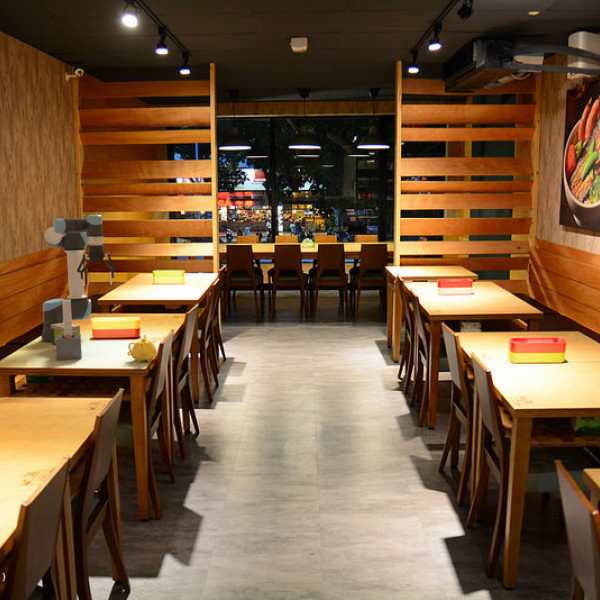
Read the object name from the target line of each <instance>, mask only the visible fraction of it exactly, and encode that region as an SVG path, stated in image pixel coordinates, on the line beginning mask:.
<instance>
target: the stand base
mask: <svg viewBox="0 0 600 600" xmlns="http://www.w3.org/2000/svg"><path fill="white" fill-rule="evenodd" d="M72 335H73V338H71V336H66V338H64V335H56V350H55V353H56V355H55V356H56V361H57V362H58V361H70V360H71V361H72V360H73V361H75V360H82V358H83V357H82V355H83V354H82V353H83V352H82V351H83V350H82V338H81V337H82V333H80V334H72Z"/></svg>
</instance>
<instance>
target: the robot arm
mask: <svg viewBox="0 0 600 600" xmlns="http://www.w3.org/2000/svg"><path fill="white" fill-rule="evenodd" d="M103 222H104V221H103V217H102V215H101V214H89V215H87V216H86V217H85V218H84V217H79V218H78V217H77V218H61V217H60V218H55V219H54V220H53V222H52V227H48V228H46V230H45V231H44V232H43V236H42V237H43V241H44V242H45V244H46V245H48V246H50V247H52V248H55V249H56V248H57V249H63V252H64V253H66V259H67V260H66V261H67V262H66V263H67V277H68V293H69V294H68V295H67V297H66V300H70V299H71V316H72V321H77V320H81V321H82V320H86V319H88V318H89V317H90V315H91V314H92V302H91V301H92V300H91V299H90V298H88V295H87V294H85V293H86V292H85V287H86V279H85V278H86V277H85V272H86V269H87V268H88V267H89V266H90V265H91V264H92V263H93V264H94V263H101V262H102V264H104V266H106V268H107V269H108V270H109V271H110V272H109V283H110V285H111V286H112V285H113V279H114V277H115V272H117V271H118V268H117V267H116V265H115V263H114V262H113V260H112V258H111V254H110V253H109V252H108V253H104V251H105V250H104V226H103V225H104V224H103ZM87 247H88V254H87V253H86V254H85V253H84V252H85V250H86V248H87ZM87 258H89V260H88V261H87V263H86V264H85V265H84V262H85V260H86V259H87ZM104 258H106V259H108V261H109V262H110V264H111V266H112V267H111V266H110V265H109V264H108V263H107V261H106V260H105V259H104ZM62 300H64V299H63V298H53V299H49V300H46V301H44V302H43V303H42V318H43V329H42V333H41V337H40V339H41V342H43V343H51V324H58V323H63V307H62Z"/></svg>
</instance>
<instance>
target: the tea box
mask: <svg viewBox="0 0 600 600" xmlns="http://www.w3.org/2000/svg"><path fill="white" fill-rule="evenodd" d="M72 334H81V326H80V325H79V324H74V323H72ZM56 335H64V325H63V323H58V324H51V342H50V343H51V350H52V351H56Z"/></svg>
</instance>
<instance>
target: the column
mask: <svg viewBox="0 0 600 600" xmlns="http://www.w3.org/2000/svg"><path fill="white" fill-rule="evenodd" d="M62 307H63V325H64V338H66V336H71V338H73V335H72V324H73V320H72V316H71V299H70V300H67V299H63V300H62Z"/></svg>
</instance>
